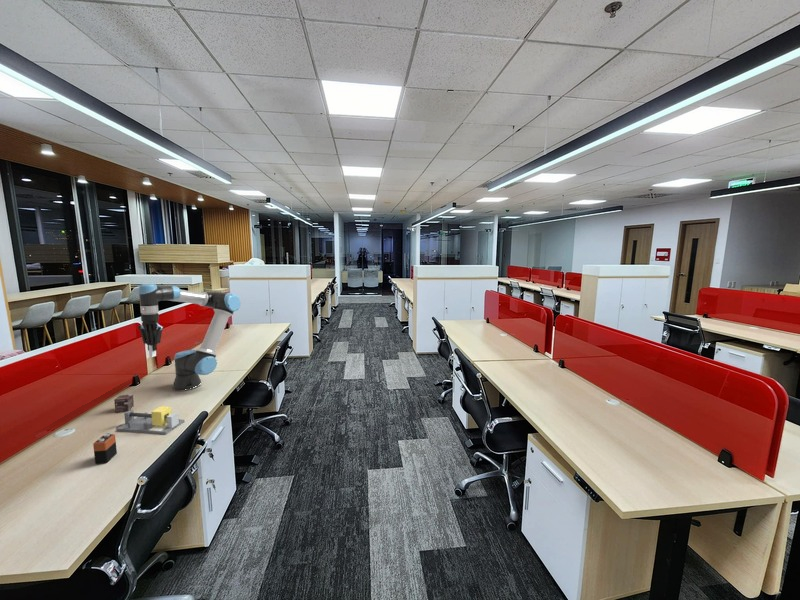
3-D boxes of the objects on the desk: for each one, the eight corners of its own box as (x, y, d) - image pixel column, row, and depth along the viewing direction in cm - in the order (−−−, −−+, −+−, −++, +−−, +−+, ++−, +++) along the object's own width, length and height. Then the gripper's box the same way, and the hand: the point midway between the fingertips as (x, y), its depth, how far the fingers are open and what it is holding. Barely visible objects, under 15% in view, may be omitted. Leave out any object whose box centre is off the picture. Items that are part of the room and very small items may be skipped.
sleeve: (162, 418, 164) (161, 406, 163) (171, 419, 163) (170, 406, 163) (152, 425, 158) (151, 411, 157) (162, 425, 158) (161, 412, 157)
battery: (117, 453, 139) (115, 431, 138) (107, 463, 133) (105, 440, 131) (105, 454, 138) (103, 432, 137) (94, 464, 132) (92, 441, 130)
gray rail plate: (138, 418, 168) (137, 406, 167) (184, 421, 166) (183, 409, 166) (116, 430, 156) (115, 417, 156) (165, 434, 155) (165, 421, 154)
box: (114, 412, 174) (113, 399, 173) (121, 407, 180) (120, 395, 179) (128, 411, 175) (127, 398, 174) (134, 406, 181) (133, 394, 180)
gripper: (132, 314, 170) (135, 357, 173) (155, 315, 169) (158, 359, 172) (144, 311, 177) (147, 353, 181) (166, 312, 176) (169, 354, 180)
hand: (152, 356), depth 176 cm, fingers closed
